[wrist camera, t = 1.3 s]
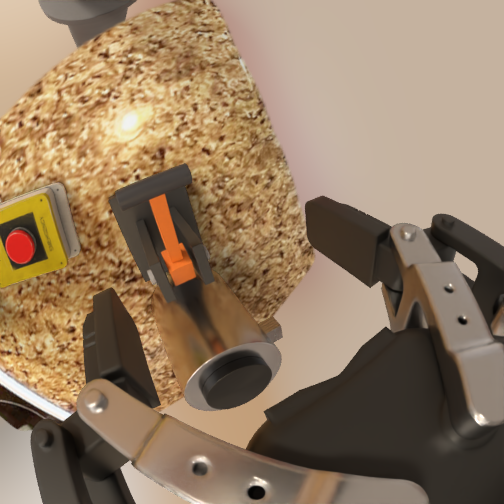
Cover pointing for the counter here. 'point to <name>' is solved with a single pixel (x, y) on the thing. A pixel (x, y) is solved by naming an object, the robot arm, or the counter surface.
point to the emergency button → (36, 234)
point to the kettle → (215, 344)
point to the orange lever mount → (151, 243)
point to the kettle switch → (162, 215)
